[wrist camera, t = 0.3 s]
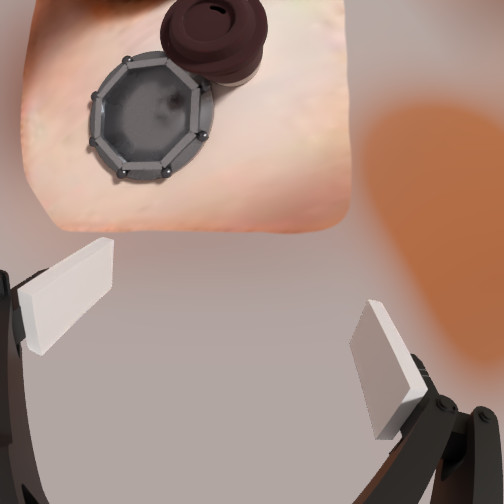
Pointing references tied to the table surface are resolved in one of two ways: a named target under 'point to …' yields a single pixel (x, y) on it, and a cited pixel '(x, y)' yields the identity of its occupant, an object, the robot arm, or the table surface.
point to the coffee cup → (216, 38)
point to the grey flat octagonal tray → (150, 117)
